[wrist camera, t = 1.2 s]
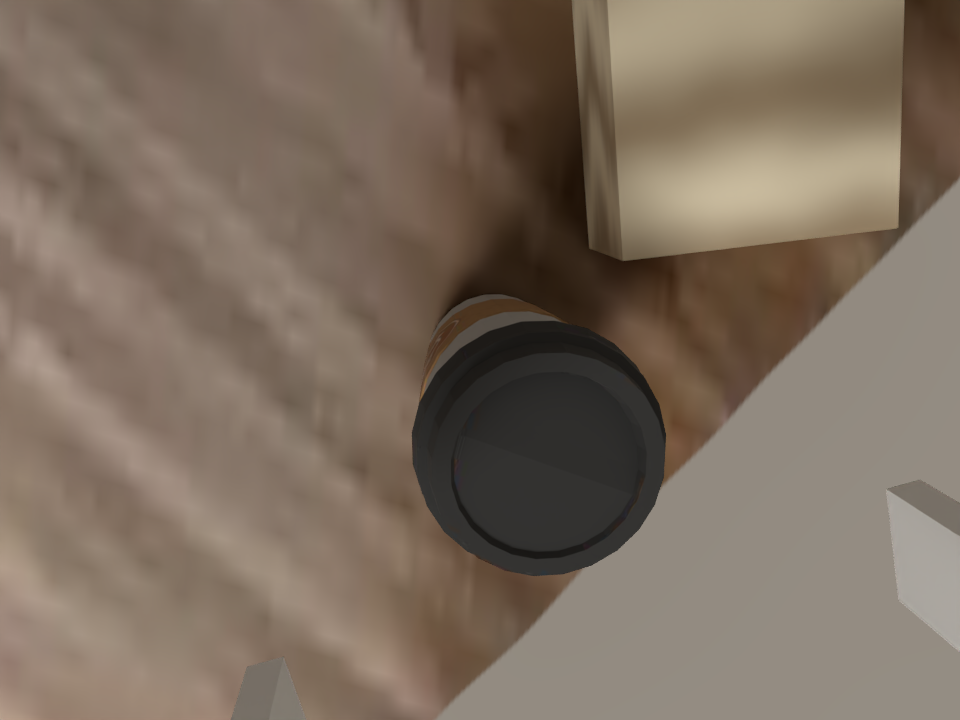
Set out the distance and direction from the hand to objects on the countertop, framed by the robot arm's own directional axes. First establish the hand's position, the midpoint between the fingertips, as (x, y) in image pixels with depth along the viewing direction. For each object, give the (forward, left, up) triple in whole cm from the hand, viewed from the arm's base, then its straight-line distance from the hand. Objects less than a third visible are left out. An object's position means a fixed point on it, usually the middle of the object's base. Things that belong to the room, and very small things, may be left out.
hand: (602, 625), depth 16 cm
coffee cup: (0, 0, -23) cm, 23 cm away
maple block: (-11, +11, -23) cm, 28 cm away
